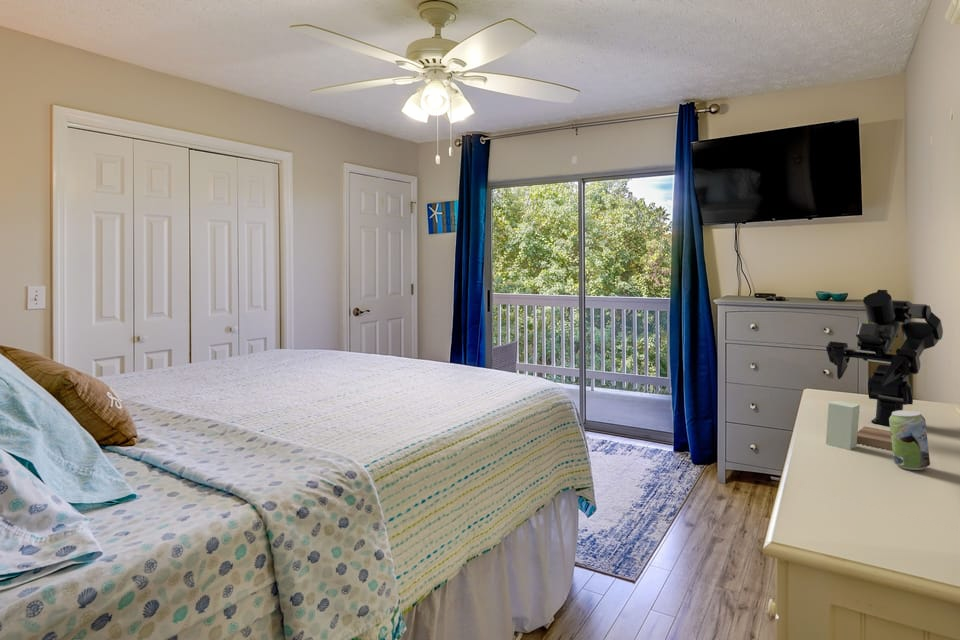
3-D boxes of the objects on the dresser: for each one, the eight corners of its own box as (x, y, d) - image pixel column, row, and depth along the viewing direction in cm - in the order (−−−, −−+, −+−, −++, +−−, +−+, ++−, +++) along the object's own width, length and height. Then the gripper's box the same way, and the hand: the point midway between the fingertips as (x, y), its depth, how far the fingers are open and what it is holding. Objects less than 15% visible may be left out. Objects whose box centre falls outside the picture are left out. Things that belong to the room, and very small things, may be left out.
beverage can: (936, 474, 113) (941, 416, 111) (895, 471, 114) (899, 414, 113) (918, 463, 119) (923, 408, 117) (879, 460, 120) (884, 406, 119)
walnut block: (863, 436, 139) (864, 426, 138) (913, 445, 131) (914, 435, 131) (853, 445, 132) (853, 435, 132) (905, 456, 125) (906, 445, 124)
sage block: (832, 441, 133) (835, 400, 132) (856, 446, 129) (859, 404, 128) (825, 444, 131) (828, 403, 130) (849, 450, 127) (852, 407, 126)
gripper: (833, 310, 143) (810, 352, 136) (922, 316, 128) (902, 363, 122) (841, 341, 148) (819, 383, 142) (928, 350, 133) (908, 397, 127)
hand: (859, 381), depth 133 cm, fingers open, 9 cm apart
